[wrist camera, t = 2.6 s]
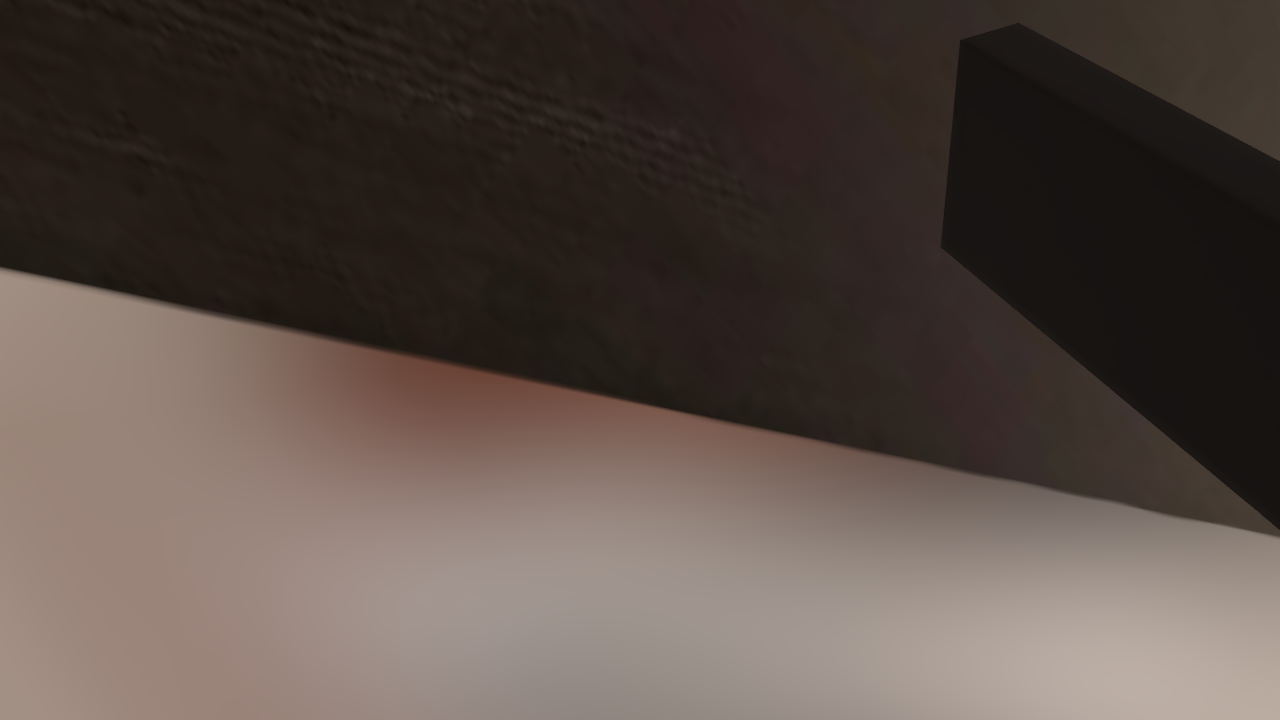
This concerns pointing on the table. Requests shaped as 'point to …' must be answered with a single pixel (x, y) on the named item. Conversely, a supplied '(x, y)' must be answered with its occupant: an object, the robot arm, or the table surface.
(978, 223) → the robot arm
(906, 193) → the table surface
